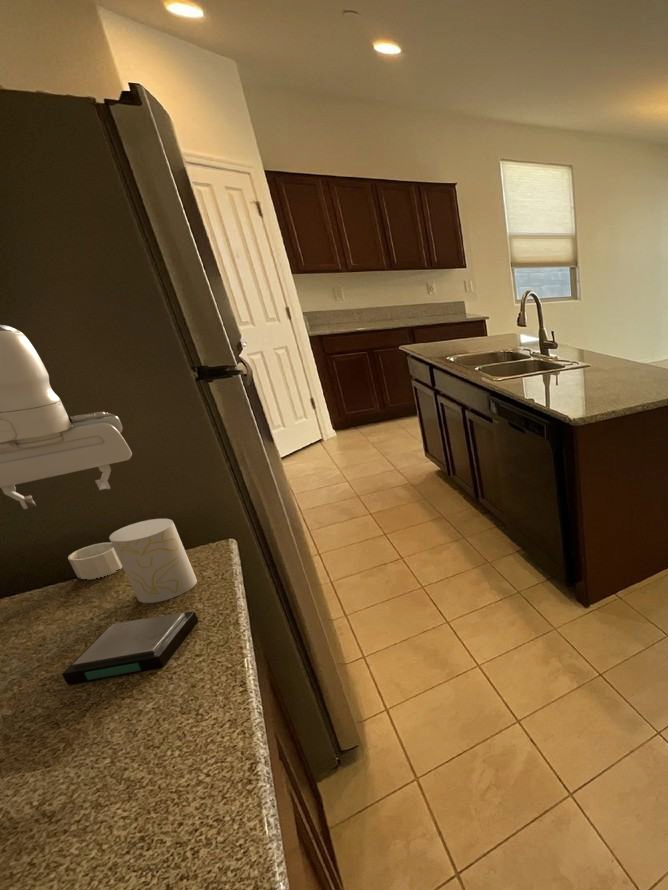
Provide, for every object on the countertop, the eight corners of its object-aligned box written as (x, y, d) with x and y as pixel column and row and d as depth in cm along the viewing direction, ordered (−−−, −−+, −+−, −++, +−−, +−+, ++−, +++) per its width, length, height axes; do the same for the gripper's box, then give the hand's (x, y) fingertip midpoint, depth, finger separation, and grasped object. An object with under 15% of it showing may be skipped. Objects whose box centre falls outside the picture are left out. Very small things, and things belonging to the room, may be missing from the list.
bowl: (69, 584, 94) (58, 562, 93) (92, 565, 100) (82, 545, 98) (112, 577, 96) (103, 556, 94) (133, 560, 102) (124, 540, 100)
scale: (66, 686, 71) (58, 671, 70) (115, 634, 81) (108, 621, 80) (162, 668, 74) (156, 654, 73) (198, 621, 84) (193, 607, 83)
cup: (137, 608, 87) (107, 546, 83) (137, 588, 93) (110, 528, 88) (198, 589, 92) (174, 530, 87) (195, 571, 98) (172, 514, 93)
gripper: (112, 406, 96) (142, 475, 101) (-64, 434, 82) (-18, 513, 87) (117, 411, 92) (148, 483, 98) (-66, 442, 78) (-18, 524, 83)
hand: (68, 497), depth 92 cm, fingers open, 8 cm apart
